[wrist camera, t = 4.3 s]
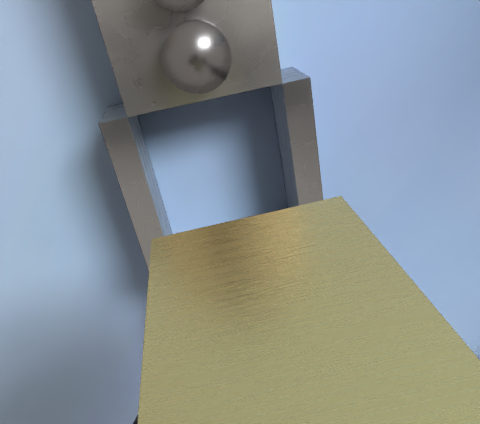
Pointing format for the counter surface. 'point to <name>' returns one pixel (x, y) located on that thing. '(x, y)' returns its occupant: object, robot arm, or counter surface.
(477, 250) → the counter surface
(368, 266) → the studded golden block
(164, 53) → the chrome-studded grey beam
